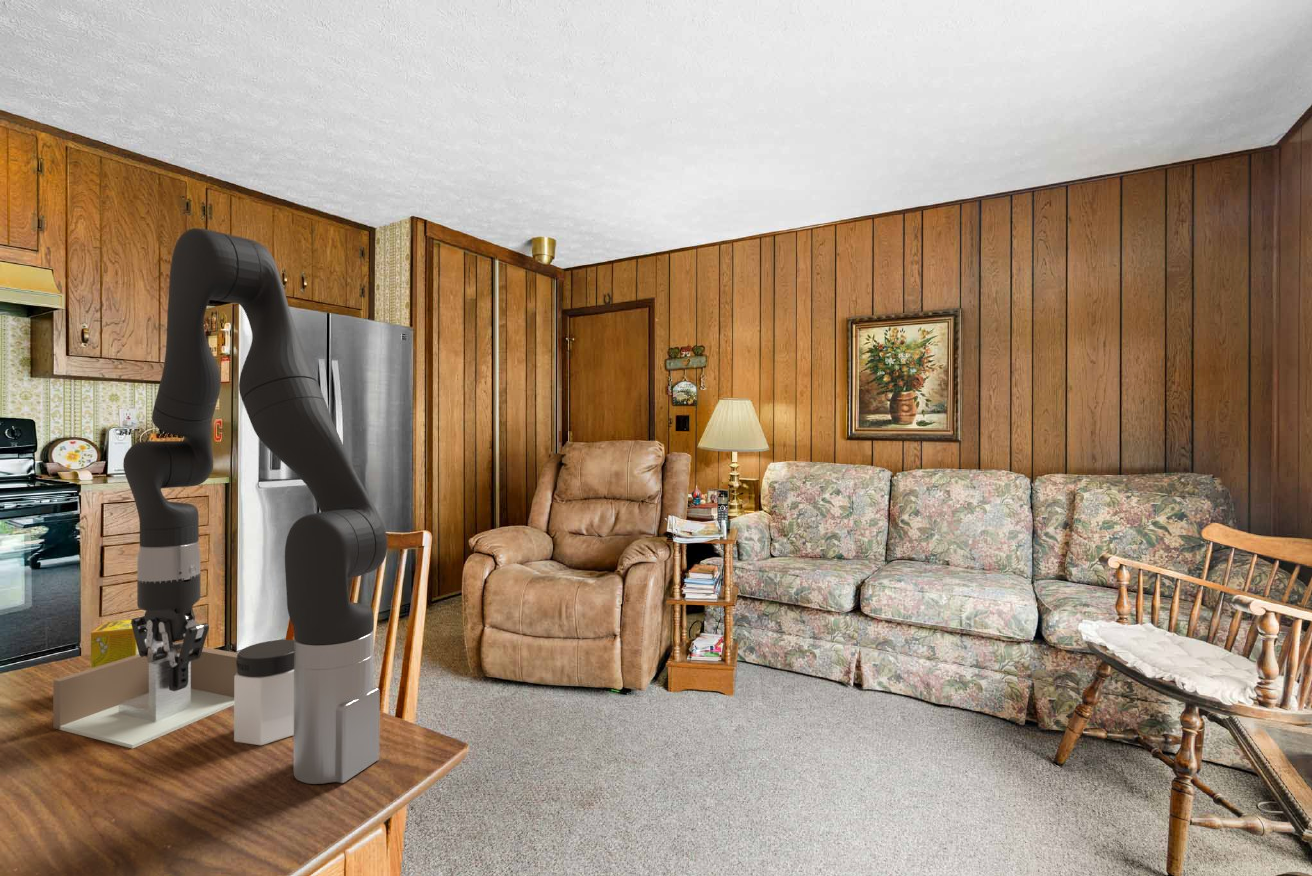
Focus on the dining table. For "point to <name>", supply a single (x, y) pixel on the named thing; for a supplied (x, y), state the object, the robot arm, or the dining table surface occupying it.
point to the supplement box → (112, 642)
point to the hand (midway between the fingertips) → (169, 686)
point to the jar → (264, 693)
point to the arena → (98, 691)
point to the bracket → (159, 695)
